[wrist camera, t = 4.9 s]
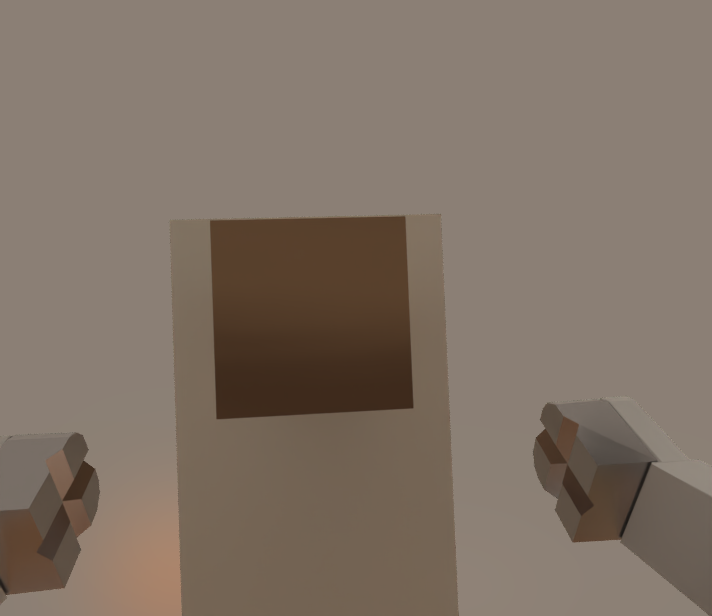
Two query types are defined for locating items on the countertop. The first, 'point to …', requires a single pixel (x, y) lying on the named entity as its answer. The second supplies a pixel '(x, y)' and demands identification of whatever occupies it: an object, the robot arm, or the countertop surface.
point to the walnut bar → (310, 316)
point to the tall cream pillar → (314, 471)
